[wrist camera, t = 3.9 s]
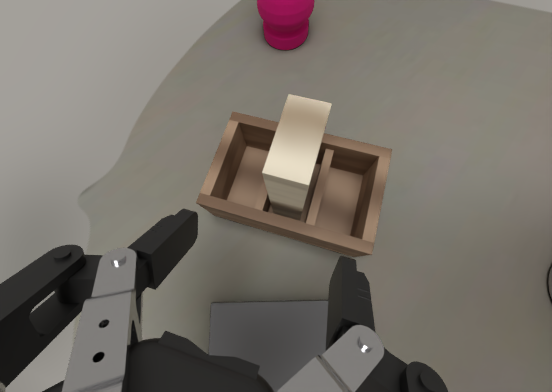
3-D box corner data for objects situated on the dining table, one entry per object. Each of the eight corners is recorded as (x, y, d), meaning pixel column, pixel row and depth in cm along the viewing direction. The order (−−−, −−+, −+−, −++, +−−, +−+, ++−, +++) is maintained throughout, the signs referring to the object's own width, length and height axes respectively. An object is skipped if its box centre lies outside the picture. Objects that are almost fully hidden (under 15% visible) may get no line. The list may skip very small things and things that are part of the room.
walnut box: (353, 256, 26) (371, 254, 20) (214, 215, 28) (195, 202, 22) (371, 172, 28) (392, 149, 23) (242, 140, 30) (232, 111, 25)
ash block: (299, 220, 26) (308, 185, 15) (273, 213, 26) (262, 172, 15) (313, 171, 28) (331, 103, 16) (288, 164, 28) (288, 94, 16)
